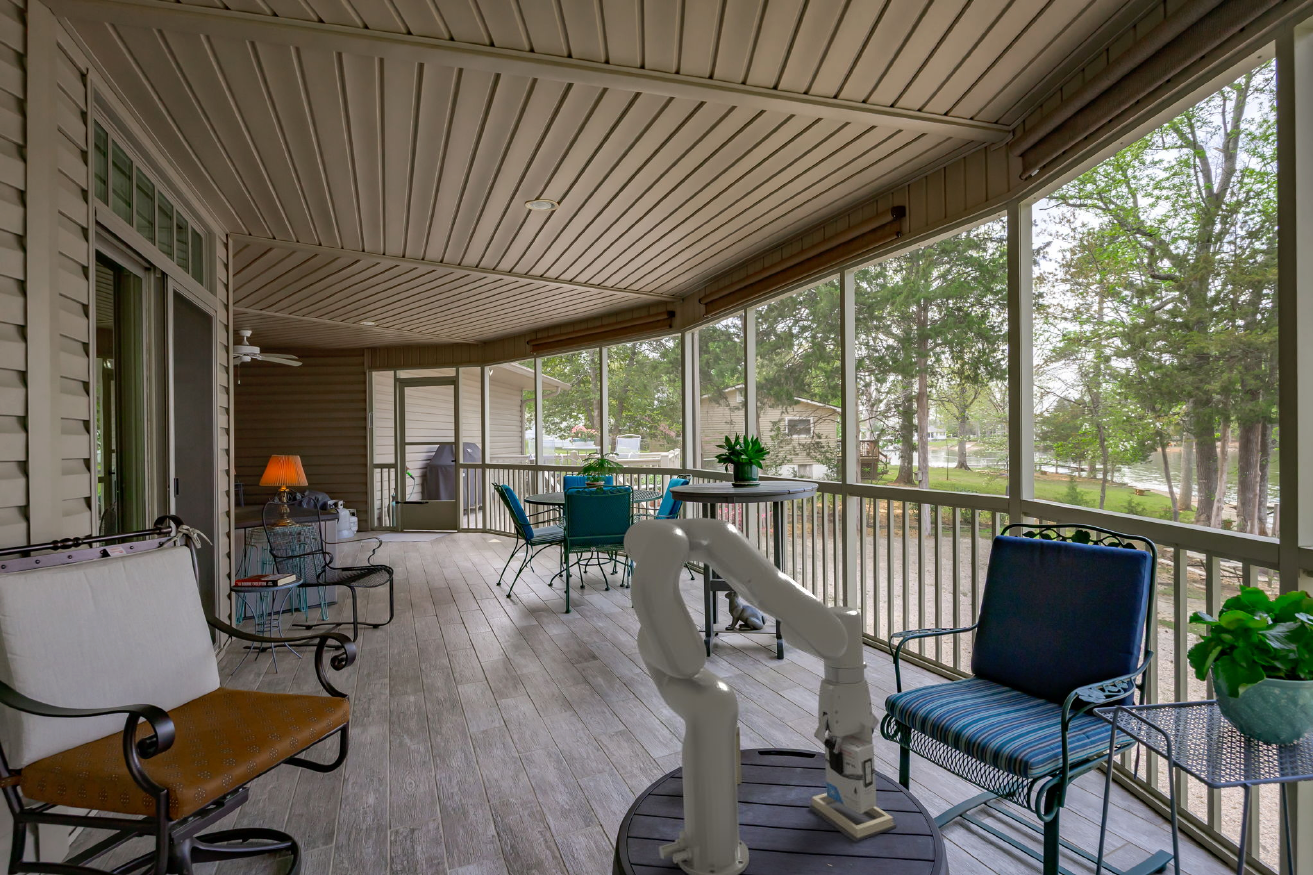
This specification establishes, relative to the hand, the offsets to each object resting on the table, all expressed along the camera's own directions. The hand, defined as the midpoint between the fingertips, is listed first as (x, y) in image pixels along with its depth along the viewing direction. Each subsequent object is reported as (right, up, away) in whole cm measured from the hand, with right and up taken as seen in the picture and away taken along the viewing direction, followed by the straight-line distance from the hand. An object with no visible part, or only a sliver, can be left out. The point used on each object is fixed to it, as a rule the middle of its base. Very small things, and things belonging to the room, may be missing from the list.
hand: (849, 766), depth 124 cm
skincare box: (-22, -11, +16) cm, 30 cm away
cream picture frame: (0, -10, 0) cm, 10 cm away
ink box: (0, -7, 0) cm, 7 cm away
